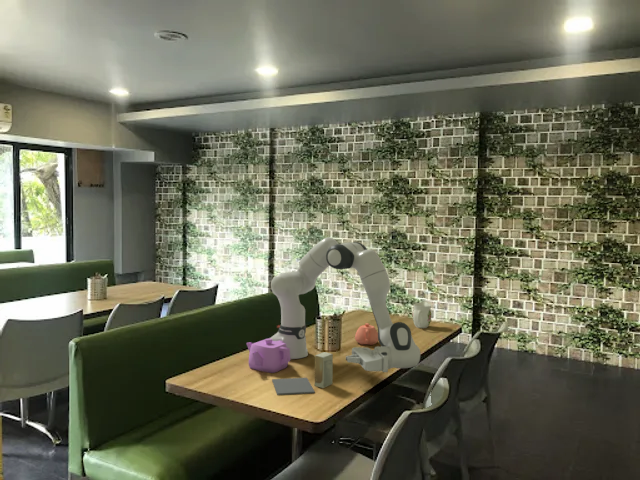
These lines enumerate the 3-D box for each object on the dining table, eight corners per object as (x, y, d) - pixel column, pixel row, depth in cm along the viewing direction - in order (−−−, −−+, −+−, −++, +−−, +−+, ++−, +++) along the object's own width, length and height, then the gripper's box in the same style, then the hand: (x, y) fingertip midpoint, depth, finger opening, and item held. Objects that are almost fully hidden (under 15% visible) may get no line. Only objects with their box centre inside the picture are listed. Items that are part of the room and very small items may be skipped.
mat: (306, 379, 209) (306, 377, 209) (314, 393, 193) (314, 391, 193) (272, 380, 206) (272, 379, 206) (277, 395, 190) (277, 393, 190)
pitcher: (408, 329, 299) (409, 305, 298) (415, 323, 315) (416, 300, 315) (427, 331, 295) (428, 307, 294) (433, 325, 311) (434, 302, 310)
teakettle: (291, 372, 217) (292, 343, 217) (251, 374, 213) (251, 345, 212) (283, 360, 234) (284, 333, 233) (245, 362, 229) (246, 335, 229)
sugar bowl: (378, 340, 272) (379, 321, 271) (379, 347, 258) (379, 327, 258) (355, 339, 273) (355, 320, 273) (354, 346, 259) (354, 326, 259)
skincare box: (324, 381, 206) (324, 351, 205) (332, 384, 203) (333, 353, 202) (313, 386, 201) (314, 354, 200) (322, 388, 198) (323, 357, 197)
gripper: (372, 343, 216) (340, 344, 213) (389, 357, 196) (353, 358, 193) (372, 358, 217) (339, 359, 214) (388, 373, 197) (353, 375, 194)
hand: (346, 359), depth 203 cm, fingers closed
